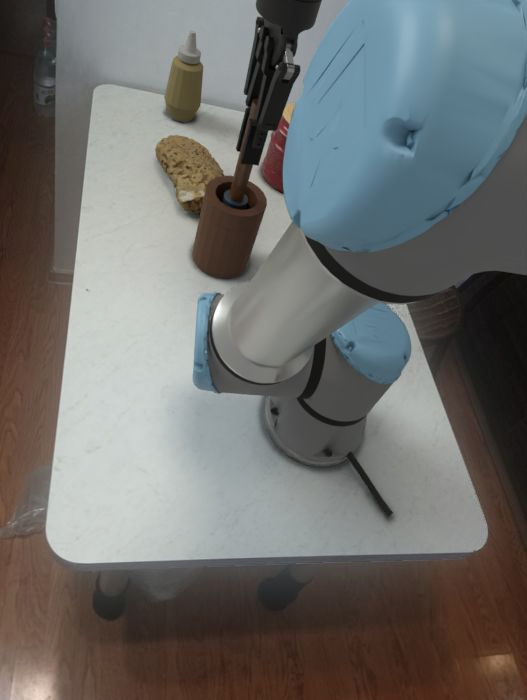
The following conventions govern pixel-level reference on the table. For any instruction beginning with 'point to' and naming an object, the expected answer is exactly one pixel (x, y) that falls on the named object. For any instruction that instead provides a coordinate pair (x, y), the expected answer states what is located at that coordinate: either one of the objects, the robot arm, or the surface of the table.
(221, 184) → the jar
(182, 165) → the sponge
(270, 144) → the kitchen canister
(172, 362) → the table surface
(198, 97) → the squeeze bottle
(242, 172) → the brush
